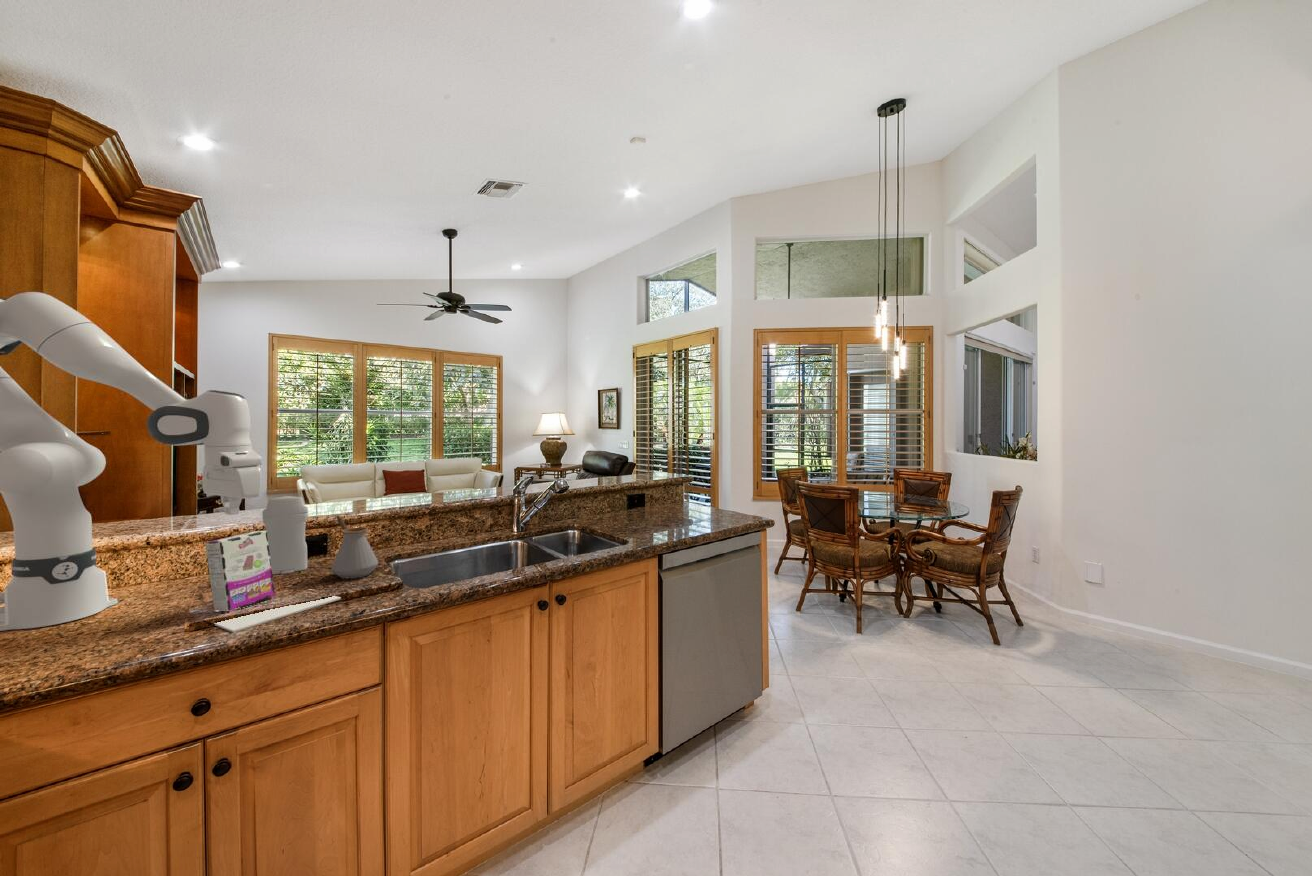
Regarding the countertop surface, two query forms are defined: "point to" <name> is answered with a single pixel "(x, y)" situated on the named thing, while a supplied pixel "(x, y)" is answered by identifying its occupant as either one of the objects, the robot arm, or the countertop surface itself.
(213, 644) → the countertop surface
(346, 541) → the coffee pot
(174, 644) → the countertop surface
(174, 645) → the countertop surface
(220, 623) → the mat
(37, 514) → the robot arm
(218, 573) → the candy bar box
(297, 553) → the gray flat bottle
